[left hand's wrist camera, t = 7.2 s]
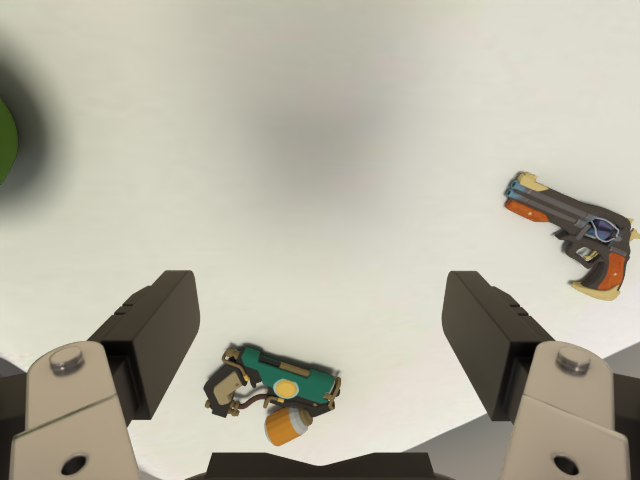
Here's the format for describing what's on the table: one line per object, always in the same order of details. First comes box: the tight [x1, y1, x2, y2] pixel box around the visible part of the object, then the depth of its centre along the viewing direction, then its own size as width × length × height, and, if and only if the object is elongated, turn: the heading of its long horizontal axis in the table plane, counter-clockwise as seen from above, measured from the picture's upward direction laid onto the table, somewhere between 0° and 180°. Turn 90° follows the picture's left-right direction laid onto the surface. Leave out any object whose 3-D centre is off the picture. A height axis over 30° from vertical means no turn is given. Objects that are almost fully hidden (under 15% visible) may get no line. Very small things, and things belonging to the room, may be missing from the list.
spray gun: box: [203, 346, 341, 446], centre depth 48 cm, size 4×17×15 cm
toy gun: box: [506, 172, 640, 301], centre depth 41 cm, size 3×19×10 cm
